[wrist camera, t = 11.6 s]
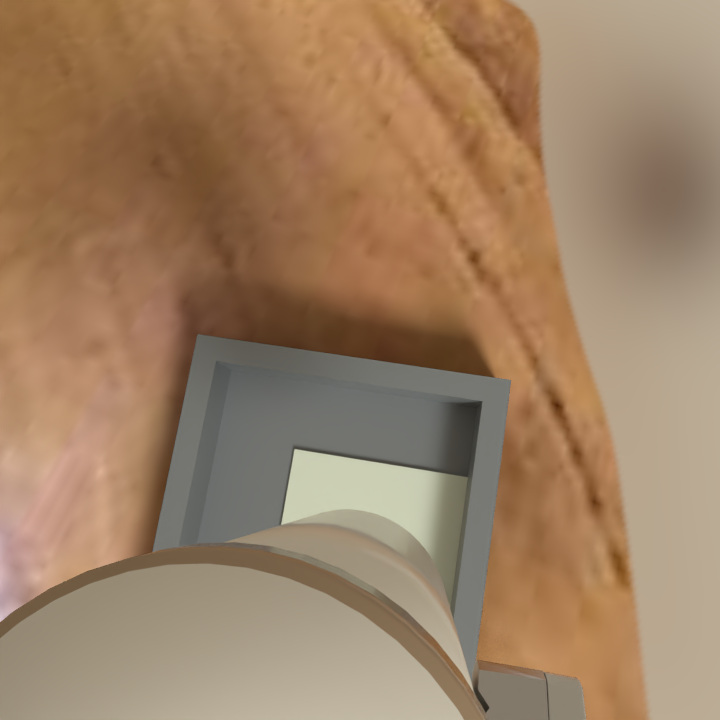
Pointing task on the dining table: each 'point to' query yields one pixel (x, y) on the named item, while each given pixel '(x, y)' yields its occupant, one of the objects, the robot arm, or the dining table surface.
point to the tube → (246, 633)
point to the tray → (339, 455)
